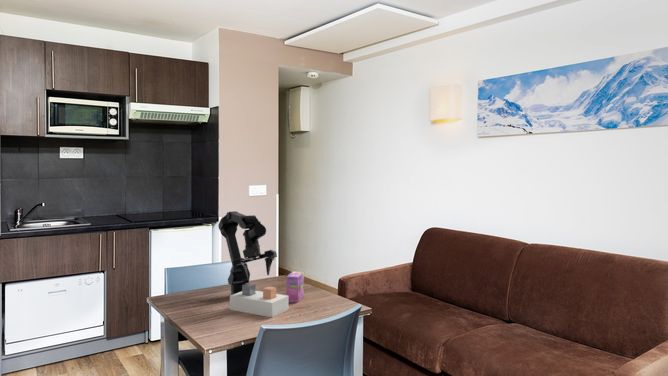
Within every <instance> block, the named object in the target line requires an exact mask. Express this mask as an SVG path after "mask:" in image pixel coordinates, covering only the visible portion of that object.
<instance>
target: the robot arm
mask: <svg viewBox="0 0 668 376" xmlns="http://www.w3.org/2000/svg"><path fill="white" fill-rule="evenodd" d="M238 226H239V228H241V229H243V230H244V232H242V236H243V238H244V244H245V245H244V248H245V249H243V250H242V254H243V257H242V256H241V251H240V248H239V244H238V240H237V236H236V234H237V231H238ZM217 227H218V230H219V232H220V234H221V236H223V238H225V242H226V245H227V249H228V252H229V253H228V254H229V258H230V261H231V265H232V266H231V269H230V271H229V272H230V273H229V276H228V278H227V284H228V285H230V290H231V291H230V295H233V294H236V293H239V292H241V291H242V285H245V284H248V283H249V282H250V277H251V272H250V270H249V267H248V263H250V262H255V261H258V260H262V259H264V262H265V268H266V275H267V276H269V275H270V272H271V266H272V264H273V261H275V258H277V257H278V254H277V251H275V250H273V249H270V250H269V249H268V250H266V251H265V250H264V252H263V253H261V249H260V247H261V246H260V242H259V240H260V239H261V238H262V237H264V236H265V235H266V234H267V228H266V227H265V225H263V224H262V222H261V221H259V219H258V218H257V216H256V215H255V214H254V215H246V214H243V213H240V212H238V211H227V212H226V214H225V215H224V216H223V217H221V219H220V220H219V223H218V226H217ZM249 284H250V283H249ZM230 295H228V297H229V298H230Z"/></svg>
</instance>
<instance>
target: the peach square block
mask: <svg viewBox="0 0 668 376" xmlns="http://www.w3.org/2000/svg"><path fill="white" fill-rule="evenodd" d="M262 292H263V298H265V299H274V298H276V294H277V287H275V286H270V285H269V286H266V287H263V288H262Z"/></svg>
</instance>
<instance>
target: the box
mask: <svg viewBox="0 0 668 376" xmlns="http://www.w3.org/2000/svg"><path fill="white" fill-rule="evenodd" d="M285 292H286V294H285V295H287V296H289V303H299V302H300V301H301V299H303V297H305V272H304V271H291V273H289V274H288V275H287V276H286V291H285Z"/></svg>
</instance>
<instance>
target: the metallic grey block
mask: <svg viewBox="0 0 668 376" xmlns="http://www.w3.org/2000/svg"><path fill="white" fill-rule="evenodd" d="M255 291H256V284H255V283H246V284H245V285H242V295H246V296H251V295H254V294H255Z"/></svg>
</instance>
